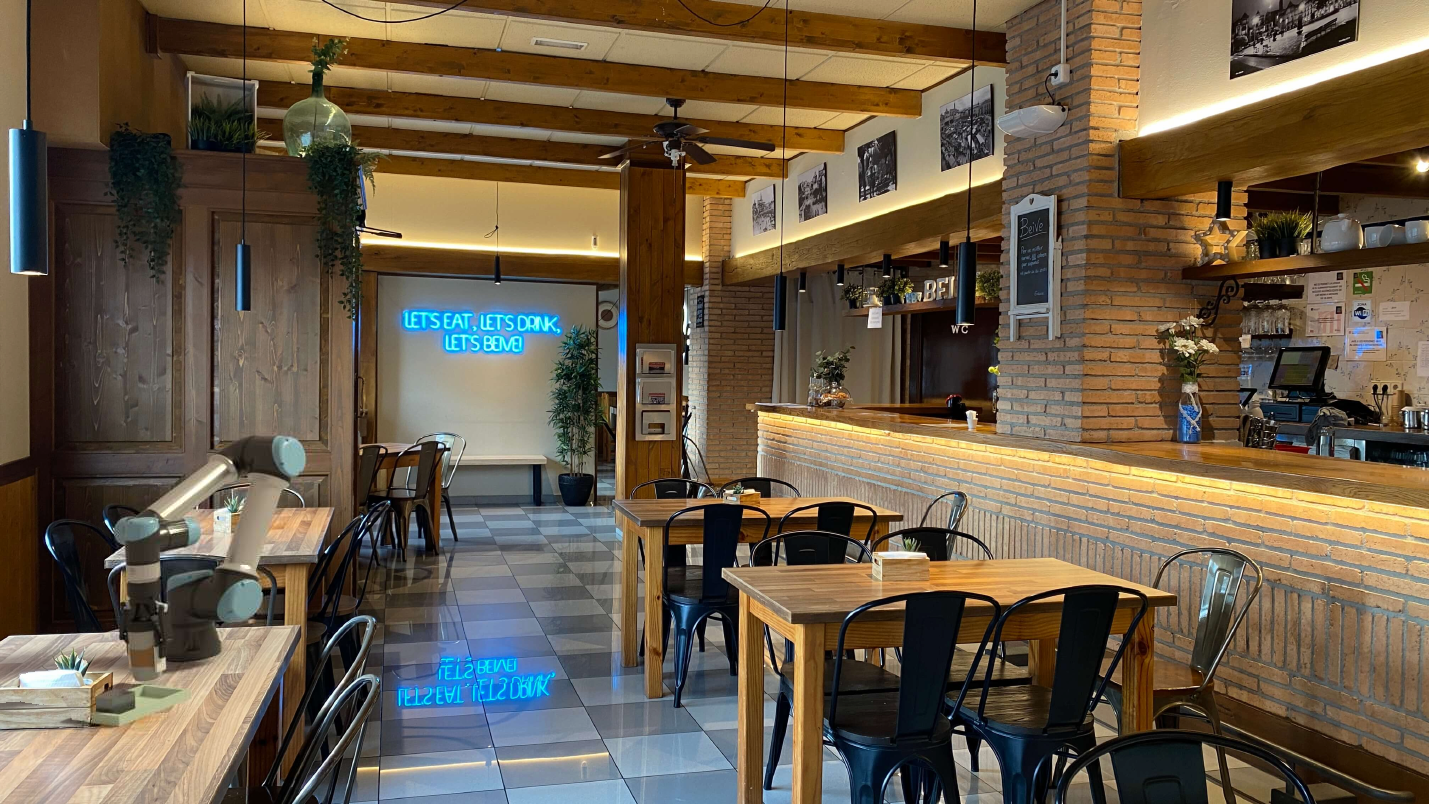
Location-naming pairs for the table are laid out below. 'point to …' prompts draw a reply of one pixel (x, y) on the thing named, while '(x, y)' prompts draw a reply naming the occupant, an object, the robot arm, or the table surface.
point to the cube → (115, 701)
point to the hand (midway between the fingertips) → (147, 669)
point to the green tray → (144, 704)
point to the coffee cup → (142, 649)
